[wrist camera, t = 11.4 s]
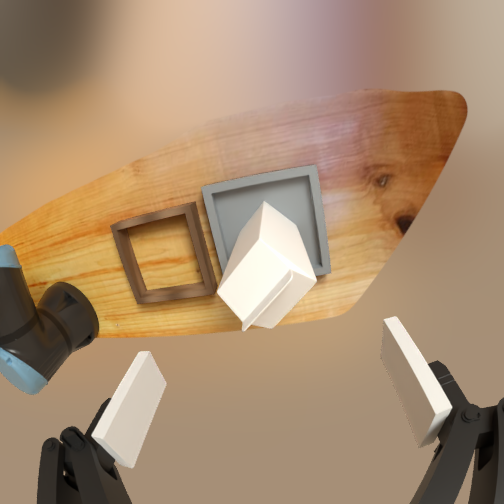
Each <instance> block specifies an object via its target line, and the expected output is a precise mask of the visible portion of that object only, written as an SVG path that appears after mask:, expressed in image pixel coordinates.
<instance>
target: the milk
mask: <svg viewBox="0 0 504 504" xmlns="http://www.w3.org/2000/svg"><path fill="white" fill-rule="evenodd" d="M316 282H317V280H316V277H315V274H314V271H313V268H312V266H311V263H310V260H309V257H308V255H307V252H306V249H305V247H304V244H303V241H302V239H301V236H300V233H299V231H298V228H297V226H296V225H295V224H294V223H293V222H292V221H290V220H289V219H288V218H286V217H285V216H284V215H282V214H281V213H280V212H279V211H277V210H276V209H275V208H273V207H272V206H271V205H269V204H268V203H267V202H265V201H263V203H262V204H261V205H260V207H259V208H258V209H257V210H256V212H255V213H254V214H253V216H252V217H251V218H250V220H249V221H248V222H247V223H246V225H245V226H244V227H243V229H242V230H241V231H240V233H239V236H238V238H237V241H236V243H235V246H234V248H233V251H232V254H231V256H230V259H229V261H228V264H227V267H226V269H225V272H224V274H223V277H222V280H221V282H220V285H219V288H218V290H217V293H218V295H219V296H220V297H221V298H222V299H223V300H224V302H225V303H226V304H227V305H228V306H229V307H230V308H231V310H232V311H233V312H234V313H235V314H236V315H237V316H238V317H239V319H240V320H241V321H242V322H243V324H242V332H244V331H245V330H246V329H247V328H248V327H249V326H250V325H256V326H260V327H265V328H270V329H272V328H273V327H275V326H276V325H277V323H278V322H279V321H280V320H281V319H282V318H283V317H284V316H285V315H286V314H287V313H288V312H289V311H290V310H291V309H292V308H293V307H294V306H295V305H296V304H297V303H298V302H299V301H300V300H301V298H302V297H303V296H304V295H305V294H306V293H307V292H308V291H309V290H310V289H311V288H312V287H313V286H314V284H315V283H316Z"/></svg>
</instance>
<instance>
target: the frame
mask: <svg viewBox="0 0 504 504" xmlns="http://www.w3.org/2000/svg"><path fill="white" fill-rule="evenodd" d="M184 213H185V215H186V219H187V223H188V227H189V230H190V234H191V238H192V241H193V245H194V249H195V252H196V256H197V259H198V263H199V266H200V270H201V273H202V277H203V280H204V282H200V283H194V284H187V285H180V286H174V287H167V288H160V289H153V290H147V289H146V286H145V283H144V281H143V278H142V275H141V272H140V269H139V266H138V264H137V261H136V258H135V255H134V251H133V248H132V245H131V242H130V239H129V236H128V232H127V229H126V228H127V227H131V226H135V225H139V224H143V223H147V222H151V221H155V220H159V219H163V218H167V217H171V216H175V215H180V214H184ZM110 227H111V230H112V233H113V237H114V240H115V243H116V246H117V249H118V252H119V255H120V258H121V261H122V264H123V267H124V270H125V272H126V275H127V278H128V281H129V283H130V286H131V289H132V291H133V294H134V296H135V299H136V301H137V304H142V303H151V302H159V301H167V300H175V299H183V298H190V297H198V296H205V295H212V294H214V293H215V291H216V288H217V286H218V285H217V282H216V278H215V275H214V271H213V267H212V264H211V260H210V256H209V253H208V249H207V245H206V241H205V238H204V234H203V230H202V226H201V222H200V218H199V214H198V210H197V206H196V202H191V203H187V204H182V205H178V206H174V207H170V208H166V209H162V210H158V211H155V212H151V213H147V214H143V215H140V216H136V217H132V218H129V219H125V220H122V221H119V222H117V223H115V224H113V225H111V226H110Z"/></svg>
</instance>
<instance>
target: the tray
mask: <svg viewBox="0 0 504 504" xmlns="http://www.w3.org/2000/svg"><path fill="white" fill-rule="evenodd" d="M201 189H202V193H203V198H204V202H205V206H206V210H207V214H208V218H209V222H210V226H211V230H212V234H213V238H214V242H215V246H216V250H217V254H218V258H219V262H220V265H221V269H222V273H223V274H224V272H225V269H226V267H227V264H228V261H229V259H230V256H231V254H232V251H233V248H234V246H235V243H236V241H237V238H238V236H239V233H240V231H241V230H242V229H243V227H244V226H245V225H246V223H247V222H248V221H249V220H250V218H251V217H252V216H253V214H254V213H255V212H256V210H257V209H258V208H259V207H260V205H261V204H262V203H263V201H265V202H267V203H268V204H269V205H271V206H272V207H273V208H275V209H276V210H277V211H279V212H280V213H281V214H282V215H284V216H285V217H286V218H288V219H289V220H290V221H292V222H293V223H294V224H295V225H296V226H297V228H298V231H299V233H300V236H301V239H302V241H303V244H304V247H305V249H306V252H307V255H308V257H309V260H310V263H311V266H312V268H313V271H314V274H315V276H319V275H324V274H330V273H331V265H330V256H329V247H328V239H327V231H326V224H325V216H324V209H323V203H322V196H321V190H320V184H319V178H318V172H317V167H316V165H314V164H313V165H307V166H300V167H294V168H288V169H283V170H277V171H272V172H266V173H261V174H256V175H251V176H246V177H241V178H236V179H232V180H227V181H222V182H218V183H214V184H209V185H205V186H203V187H201Z"/></svg>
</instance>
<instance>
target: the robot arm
mask: <svg viewBox="0 0 504 504" xmlns="http://www.w3.org/2000/svg"><path fill="white" fill-rule="evenodd" d="M98 331H99V323H98V318H97V315H96V313H95V311H94V308H93V307H92V305H91V303H90V302H89V300H88V299H87V298H86V297H85V296H84V294H83V293H82V292H81V291H79V290H78V289H77V288H76V287H74V286H72V285H71V284H68V283H65V282H57V283H55V284H53V285H52V286H51V287H49V288H48V289H47V290H46V291H45V293H44V295H43V297H42V298H41V300H40V302H39V304H38V306H37V307H35V304H34V302H33V299H32V297H31V294H30V292H29V289H28V286H27V283H26V280H25V278H24V275H23V272H22V266H21V265H20V263H19V261H18V258H17V255H16V252H15V250H14V248H13V247H12V246H10V245H2V246H0V372H1V373H2V374H3V375H4V376H5V377H6V378H7V379H8V380H9V381H10V382H11V383H12V384H13V385H14V386H16V387H17V388H18V389H20V390H21V391H23V392H25V393H27V394H31V395H34V394H37V393H39V392H40V390H41V389H42V388H43V387H44V386H45V385H47V384H48V381H49V380H50V379H51V377H52V376H53V375H54V374H55V373H56V371H57V370H58V369H59V367H60V366H61V365H62V364H63V363H64V361H65V360H66V359H67V358H68V357H69V355H70V354H71V353H72V352H74V351H77V350H79V349H81V348H82V347H85V346H87V345H89V344H90V343H91V342H92V341H93V340H94V338H95V337H96V336H97V334H98ZM381 359H382V361H383V363H384V365H385V368H386V370H387V372H388V374H389V377H390V379H391V381H392V383H393V386H394V388H395V390H396V392H397V395H398V397H399V399H400V401H401V404H402V407H403V409H404V411H405V414H406V416H407V419H408V421H409V424H410V426H411V429H412V432H413V434H414V437H415V439H416V442H417V445H418V447H419V448H421V447H423V446H426V445H428V444H431V443H433V442H434V441H435V439H436V438H437V436H438V438H439V440H440V443H439V445H438V446H437V448H436V449H435V451H434V452H435V454H434V457H433V459H432V461H431V464H430V466H429V468H428V470H427V472H426V474H425V476H424V478H423V480H422V482H421V484H420V486H419V488H418V490H417V491H416V493H415V495H414V497H413V499H412V501H411V502H410V504H454V502H455V500H456V498H457V496H458V493H459V491H460V489H461V486H462V484H463V481H464V479H465V476H466V473H467V470H468V468H469V465H470V462H471V459H472V456H473V453H474V450H475V461H474V470H473V478H472V485H471V491H470V497H469V502H468V504H504V398H503V399H501V400H500V401H499V403H498V405H496V406H491V407H486V408H479V407H478V406H476V405H474V404H470V403H469V402H468V401H467V399H466V397H465V396H464V394H463V392H462V391H461V389H460V388H459V386H458V384H457V383H456V381H454V378H453V376H452V375H451V374H450V372H449V371H448V369H447V367H446V366H445V365H444V364H442V363H441V362H439V361H435V362H432V363H429V364H427V362H426V361H425V359H424V358H423V356H422V354H421V353H420V351H419V350H418V348H417V347H416V345H415V344H414V342H413V340H412V339H411V337H410V336H409V334H408V333H407V331H406V330H405V328H404V327H403V325H402V324H401V323H400V321H399V319H398V318H397V317H396V316H395V317H391V318H387V319H384V321H383V337H382V349H381ZM165 387H166V382H165V380H164V378H163V376H162V374H161V372H160V370H159V369H158V367H157V365H156V363H155V361H154V359H153V357H152V355H151V353H150V351H143V352H139V353H138V354H137V356H136V358H135V359H134V361H133V363H132V364H131V366H130V368H129V370H128V371H127V373H126V375H125V376H124V378H123V380H122V381H121V383H120V385H119V387H118V388H117V390H116V392H115V394H114V395H113V397H112V398H108V399H107V400H106V401H105V402H104V403H103V404H102V405H101V407H100V409H99V410H98V412H97V414H96V416H95V418H94V419H93V421H92V423H91V424H90V426H89V428H88V430H87V432H86V434H85V435H83V433H82V432H81V431H79V429H78V428H76V427H73V426H71V427H68V428H66V429H64V430H63V431H62V433H61V435H60V440H61V441H62V442H63V443H61V442H59V440H58V439H56V438H49V439H47V440H46V441H45V442H44V444H43V446H42V452H41V460H40V468H39V477H38V491H37V504H132V502H131V500H130V498H129V496H128V494H127V492H126V489H125V487H124V485H123V482H122V480H121V478H120V475H119V473H118V470H117V468H116V466H115V465H114V462H115V460H116V461H117V462H118V463H119V464H120V465H122V466H126V467H130V468H133V467H134V465H135V462H136V460H137V457H138V454H139V452H140V449H141V447H142V444H143V441H144V439H145V436H146V434H147V431H148V429H149V426H150V424H151V421H152V419H153V416H154V414H155V411H156V409H157V406H158V404H159V401H160V399H161V396H162V394H163V392H164V389H165ZM63 471H65V476H64V475H63Z"/></svg>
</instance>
